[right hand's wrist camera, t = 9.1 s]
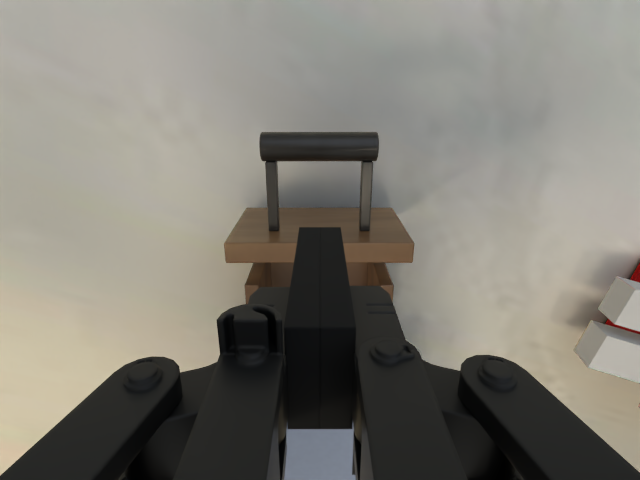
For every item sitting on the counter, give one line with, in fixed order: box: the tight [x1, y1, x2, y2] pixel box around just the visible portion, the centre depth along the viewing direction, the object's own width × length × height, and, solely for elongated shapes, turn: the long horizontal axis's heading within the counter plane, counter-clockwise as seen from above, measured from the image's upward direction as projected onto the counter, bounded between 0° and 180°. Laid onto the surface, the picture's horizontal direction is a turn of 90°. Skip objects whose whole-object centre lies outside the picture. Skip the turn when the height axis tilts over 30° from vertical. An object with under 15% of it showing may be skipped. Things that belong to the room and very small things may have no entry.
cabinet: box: [284, 427, 356, 480], centre depth 31 cm, size 20×12×9 cm, turn 0°
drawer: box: [224, 132, 414, 304], centre depth 27 cm, size 24×10×7 cm, turn 0°
